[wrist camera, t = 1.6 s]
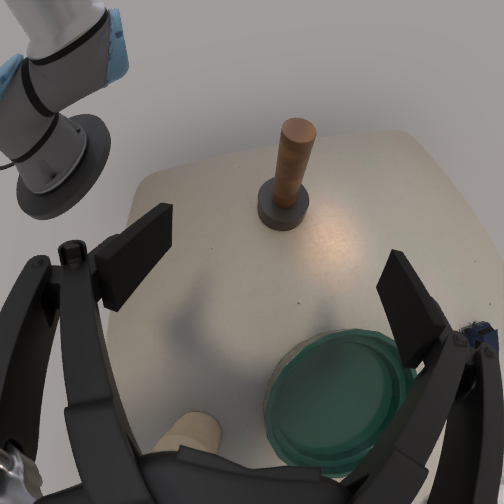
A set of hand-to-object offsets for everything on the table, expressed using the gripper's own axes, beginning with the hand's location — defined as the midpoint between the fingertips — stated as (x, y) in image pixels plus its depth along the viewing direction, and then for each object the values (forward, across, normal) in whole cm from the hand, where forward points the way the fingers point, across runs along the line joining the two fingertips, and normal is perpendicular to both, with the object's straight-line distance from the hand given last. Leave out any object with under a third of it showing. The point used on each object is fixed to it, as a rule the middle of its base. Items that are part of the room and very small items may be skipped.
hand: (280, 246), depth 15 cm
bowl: (+4, +11, -20) cm, 23 cm away
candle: (-1, -4, -25) cm, 25 cm away
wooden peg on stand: (+19, 0, -4) cm, 20 cm away
